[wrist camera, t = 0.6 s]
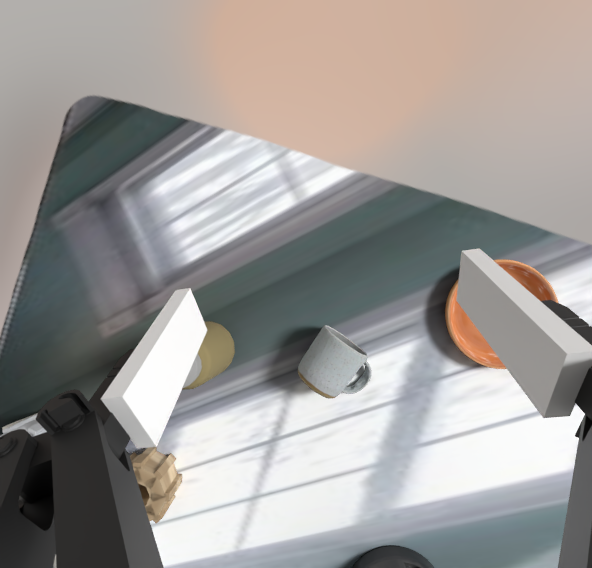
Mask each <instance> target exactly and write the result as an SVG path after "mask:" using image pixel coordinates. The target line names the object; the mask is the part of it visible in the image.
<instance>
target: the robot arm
mask: <svg viewBox="0 0 592 568" xmlns="http://www.w3.org/2000/svg"><path fill="white" fill-rule="evenodd" d="M456 301H457V302H458V303H459V305H460V306H461V308H462V309H463V310H464V312H465V313H466V314H467V316H468V317H469V318H470V320H471V321H472V322H473V324H474V325H475V326H476V328H477V329H478V330H479V332H480V333H481V334H482V336H483V337H484V338H485V340H486V341H487V343H488V344H489V345H490V347H491V348H492V349H493V351H494V352H495V353H496V355H497V356H498V357H499V359H500V360H501V361H502V363H503V364H504V365H505V367H506V368H507V369H508V371H509V372H510V373H511V375H512V376H513V378H514V379H515V380H516V382H517V383H518V384H519V386H520V387H521V388H522V390H523V391H524V392H525V394H526V395H527V396H528V398H529V399H530V400H531V402H532V403H533V404H534V406H535V407H536V408H537V410H538V411H539V413H540V414H541V415H542V417H543V418H549V417H562V416H570V414H571V412H572V410H573V408H574V405H575V403H576V404H577V405H578V406H579V407H580V409H581V410H582V411H583V412H584V413H585V416H584V418H583V420H582V422H581V424H580V426H579V428H578V430H577V433H576V435H575V436H576V437H578V438H579V442H578V448H577V454H576V460H575V466H574V472H573V479H572V485H571V491H570V497H569V503H568V509H567V515H566V521H565V527H564V533H563V539H562V545H561V551H560V557H559V564H558V568H592V327H591V326H590V327H589V324H587V323H586V322H585V321H584V320H582V319H579V316H577V315H576V314H575V313H574V312H572V311H571V310H570V309H569V308H567V307H565V306H563V305H561V304H559V303H557V302H555V301H552V300H545V301H540V300H539V299H537V298H536V297H535V296H534V295H533V294H532V293H530V292H529V291H528V290H527V289H526V288H525V287H523V286H522V285H521V284H520V283H519V282H518V281H516V280H515V279H514V278H513V277H512V276H511V275H510V274H508V273H507V272H506V271H505V270H504V269H503V268H501V267H500V266H499V265H498V264H497V263H496V262H494V261H493V260H492V259H491V258H490V257H489V256H488V255H486V254H485V253H484V252H483V251H482V250H481V249H472V250H465V251H462V253H461V262H460V271H459V281H458V290H457V299H456ZM206 332H207V328H206V326H205V323H204V321H203V318H202V316H201V313H200V311H199V309H198V306H197V304H196V301H195V299H194V296H193V294H192V291H191V289H190V288H188V289H180V290H176V291H175V292H174V294H173V295H172V297H171V298H170V299H169V301H168V302H167V304H166V305H165V307H164V308H163V310H162V311H161V312H160V314H159V315H158V317H157V318H156V320H155V321H154V322H153V324H152V325H151V327H150V328H149V330H148V331H147V333H146V334H145V335H144V337H143V338H142V340H141V341H140V343H139V344H138V346H137V347H136V348H135V349H130V350H129V351H128V352H127V353H126V354H125V355H123V356H122V357H121V358H120V359H119V360H118V362H117V363H116V365H115V366H114V367H113V370H111V372H110V373H109V374H108V376H107V378H105V380H104V381H103V383H102V384H101V385H100V387H99V388H98V389H97V391H96V392H95V394H94V395H93V396H92V398H91V399H90V400H89V402H88V401H87V399H86V398H85V397H84V395H83V394H82V393H81V392H80V391H79V390H70V391H66V392H64V393H61V394H59V395H57V396H56V397H54V398H53V399H51V400H50V401H48V402H47V403H46V404H45V405H44V406H43V407H42V408H41V409H40V411H39V412H38V413H37V416H36V419H35V420H36V421H37V422H38V423H39V424H40V425H41V426H42V427H43V428H44V429H45V430H46V431H47V432H45V433H42V434H39V435H36V436H34V437H32V436H31V435H30V434H29V433H28V432H27V431H26V430H25V429H17V430H14V431H11V432H9V433H7V434H5V435H3V436H1V437H0V568H53V565H54V560H55V555H56V566H57V568H163V565H162V561H161V558H160V555H159V551H158V548H157V545H156V542H155V538H154V535H153V532H152V528H151V525H150V522H149V518H148V515H147V512H146V509H145V505H144V502H143V499H142V495H141V492H140V489H139V486H138V482H137V479H136V476H135V472H134V469H133V466H132V462H131V459H130V456H129V453H128V452H127V451H126V449H125V448H126V446H127V444H128V442H129V440H130V439H131V441H132V442H133V443H134V445H135V446H136V447H137V448H149V447H157V445H158V443H159V440H160V438H161V436H162V433H163V431H164V429H165V427H166V424H167V422H168V420H169V417H170V415H171V413H172V410H173V408H174V406H175V404H176V401H177V399H178V397H179V394H180V392H181V390H182V387H183V385H184V383H185V381H186V378H187V376H188V374H189V371H190V369H191V367H192V364H193V362H194V360H195V358H196V355H197V353H198V351H199V348H200V346H201V344H202V342H203V339H204V337H205V335H206ZM352 568H434V567H433V565H432V564H431V563H430V562H429V561H428V560H427V559H426V558H425V557H423V556H422V555H420V554H419V553H417V552H415V551H413V550H411V549H408V548H405V547H399V546H386V547H381V548H377V549H374V550H372V551H370V552H368V553H367V554H365V555H364V556H362V557H361V558H360V559H359V560H358V561H357V562H356V563H355V565H354V566H353V567H352Z"/></svg>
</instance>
